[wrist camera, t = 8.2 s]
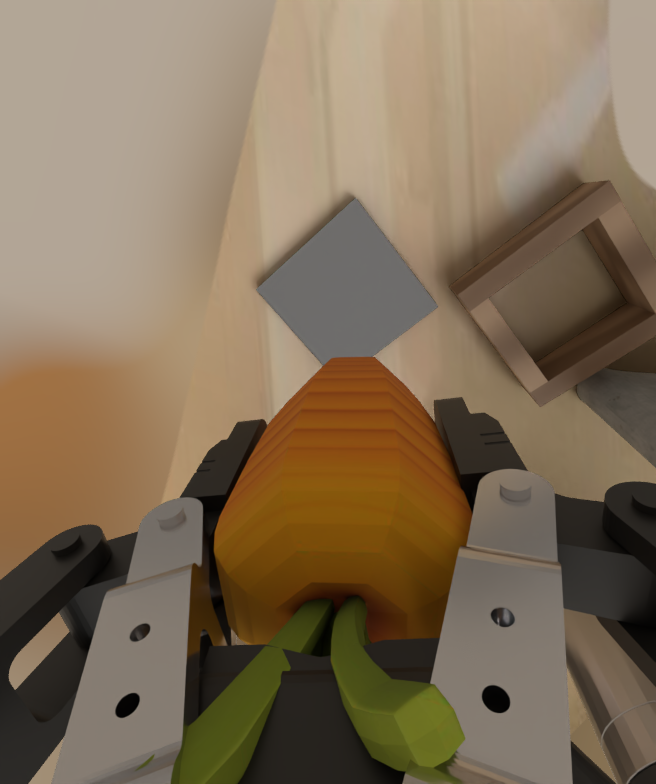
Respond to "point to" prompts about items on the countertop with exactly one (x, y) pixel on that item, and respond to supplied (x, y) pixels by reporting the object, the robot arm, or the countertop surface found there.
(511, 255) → the socket collar
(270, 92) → the countertop surface
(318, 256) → the mat
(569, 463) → the countertop surface
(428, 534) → the carrot
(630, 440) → the hip flask
